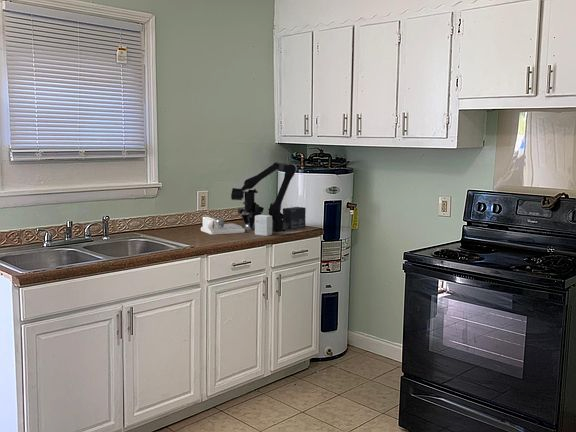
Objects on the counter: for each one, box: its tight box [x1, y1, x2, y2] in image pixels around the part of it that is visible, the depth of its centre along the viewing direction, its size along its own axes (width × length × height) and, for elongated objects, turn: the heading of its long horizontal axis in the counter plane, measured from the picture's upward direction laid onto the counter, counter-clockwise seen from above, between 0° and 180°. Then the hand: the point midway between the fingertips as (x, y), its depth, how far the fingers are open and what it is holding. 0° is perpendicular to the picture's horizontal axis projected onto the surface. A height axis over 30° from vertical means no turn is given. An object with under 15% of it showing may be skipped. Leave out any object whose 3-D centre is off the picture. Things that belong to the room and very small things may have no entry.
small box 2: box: [282, 206, 307, 230], centre depth 355 cm, size 13×7×12 cm, turn 136°
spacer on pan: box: [214, 218, 225, 226], centre depth 339 cm, size 5×5×3 cm
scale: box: [200, 216, 246, 235], centre depth 336 cm, size 15×22×8 cm
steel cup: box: [244, 223, 255, 231], centre depth 346 cm, size 5×5×3 cm
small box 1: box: [254, 214, 273, 237], centre depth 329 cm, size 8×6×10 cm
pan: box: [218, 223, 243, 229], centre depth 338 cm, size 12×12×1 cm
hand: (249, 227), depth 346 cm, fingers closed on steel cup, 5 cm apart
